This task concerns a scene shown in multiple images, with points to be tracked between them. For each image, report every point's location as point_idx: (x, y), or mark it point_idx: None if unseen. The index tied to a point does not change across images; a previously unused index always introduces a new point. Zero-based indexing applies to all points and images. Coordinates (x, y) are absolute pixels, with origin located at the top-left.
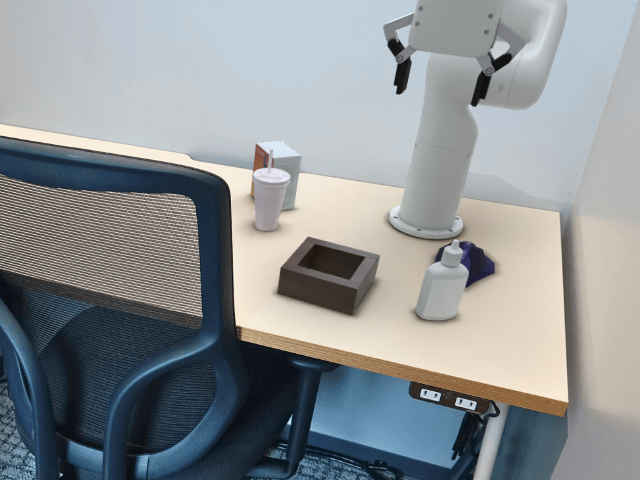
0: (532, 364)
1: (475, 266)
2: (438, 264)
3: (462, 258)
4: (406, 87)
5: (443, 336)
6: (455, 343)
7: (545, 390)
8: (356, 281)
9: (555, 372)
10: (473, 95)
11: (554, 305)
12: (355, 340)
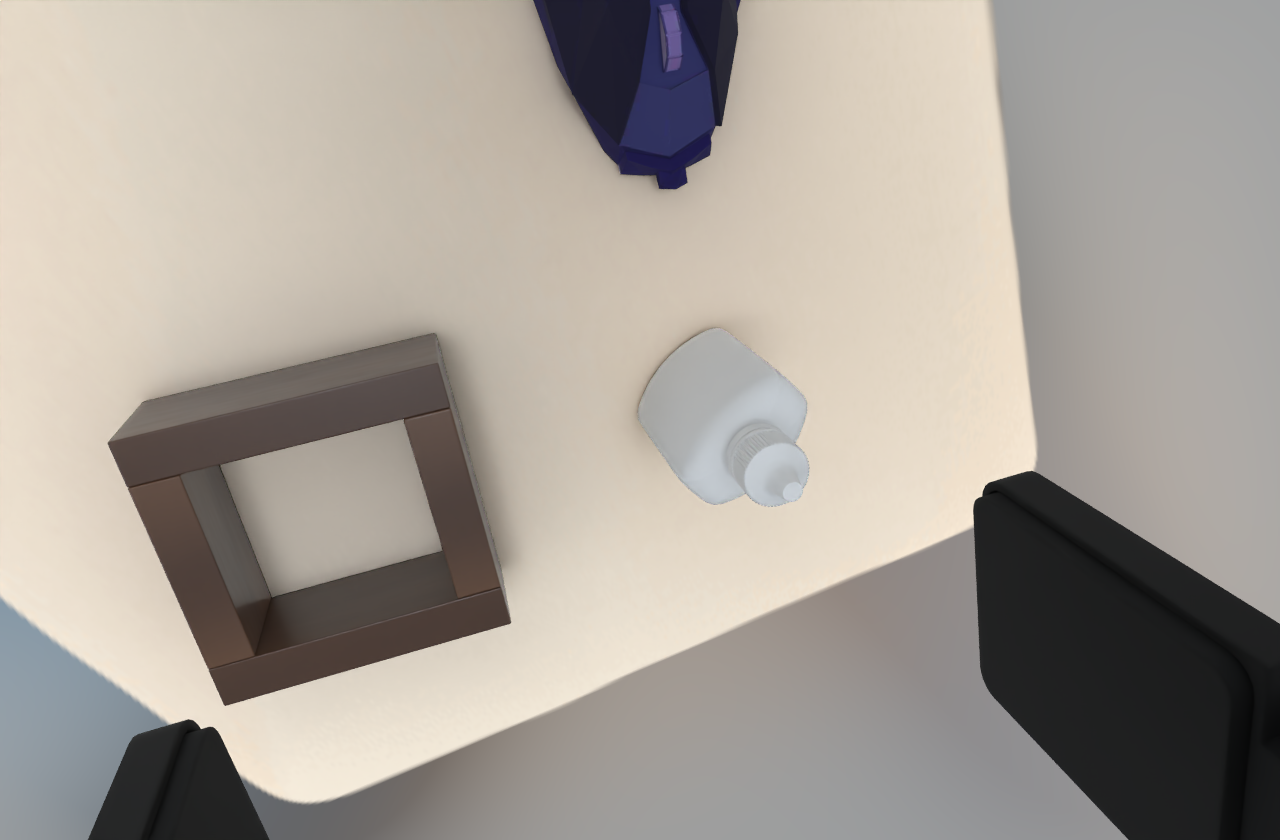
0: (967, 415)
1: (723, 61)
2: (721, 476)
3: (673, 67)
4: (211, 740)
5: None
6: None
7: None
8: (481, 588)
9: (1017, 406)
10: (1049, 748)
11: (976, 38)
12: (572, 654)
